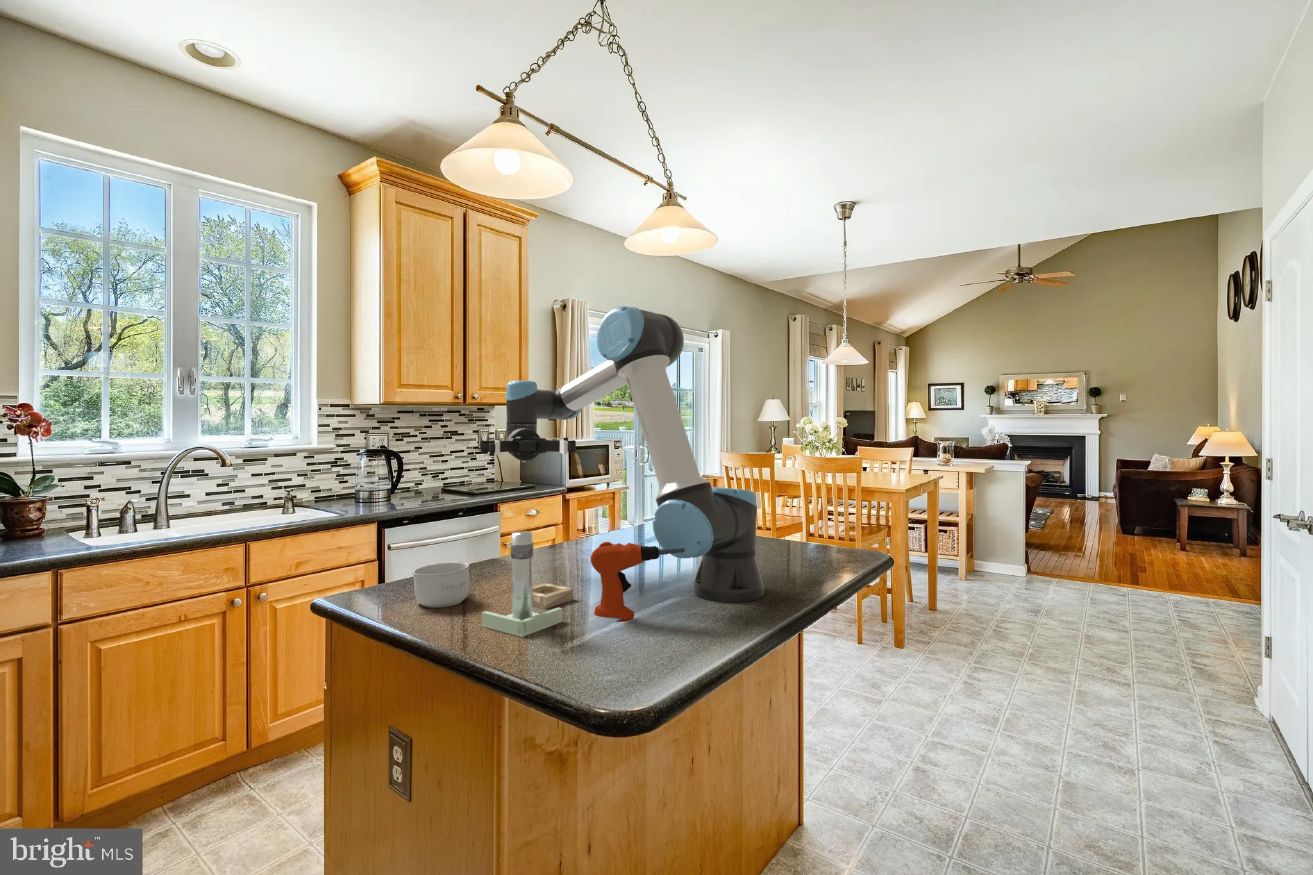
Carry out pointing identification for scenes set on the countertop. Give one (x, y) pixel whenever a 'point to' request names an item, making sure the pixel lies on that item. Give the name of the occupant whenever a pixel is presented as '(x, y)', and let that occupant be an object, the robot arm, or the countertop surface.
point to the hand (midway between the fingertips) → (532, 447)
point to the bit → (522, 575)
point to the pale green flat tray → (521, 622)
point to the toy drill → (620, 574)
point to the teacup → (441, 584)
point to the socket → (550, 595)
